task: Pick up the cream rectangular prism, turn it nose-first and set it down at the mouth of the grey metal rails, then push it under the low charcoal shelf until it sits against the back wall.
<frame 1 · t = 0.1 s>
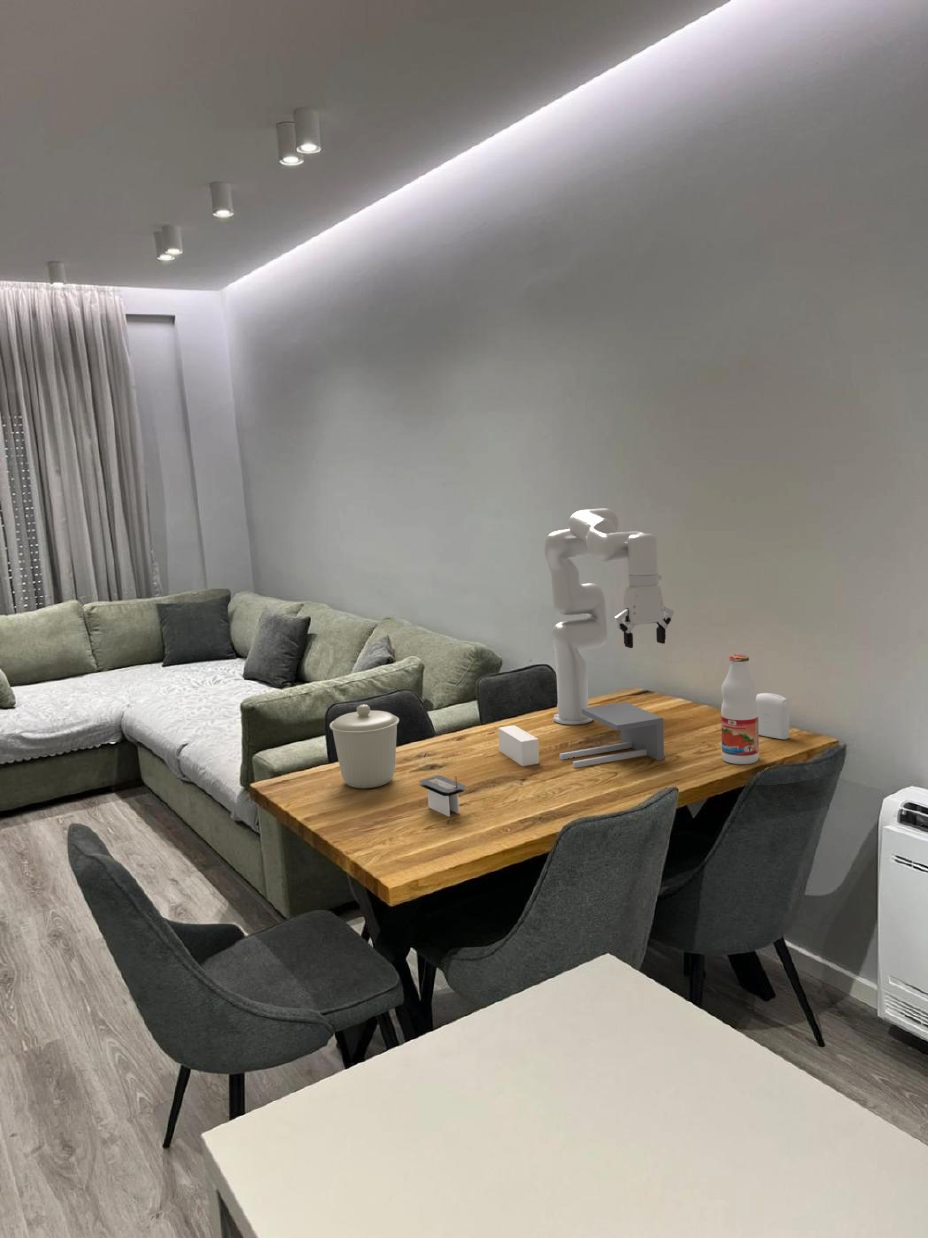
hand: (645, 645, 250), 31 cm above the table, tool pointing down, fingers open, 9 cm apart
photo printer: (771, 736, 268), on the table
overhang shelf: (625, 753, 261), on the table
fruit juice: (740, 760, 250), on the table
architectural model: (444, 812, 226), on the table
cream rectangular prism: (518, 757, 263), on the table
canister: (369, 783, 249), on the table
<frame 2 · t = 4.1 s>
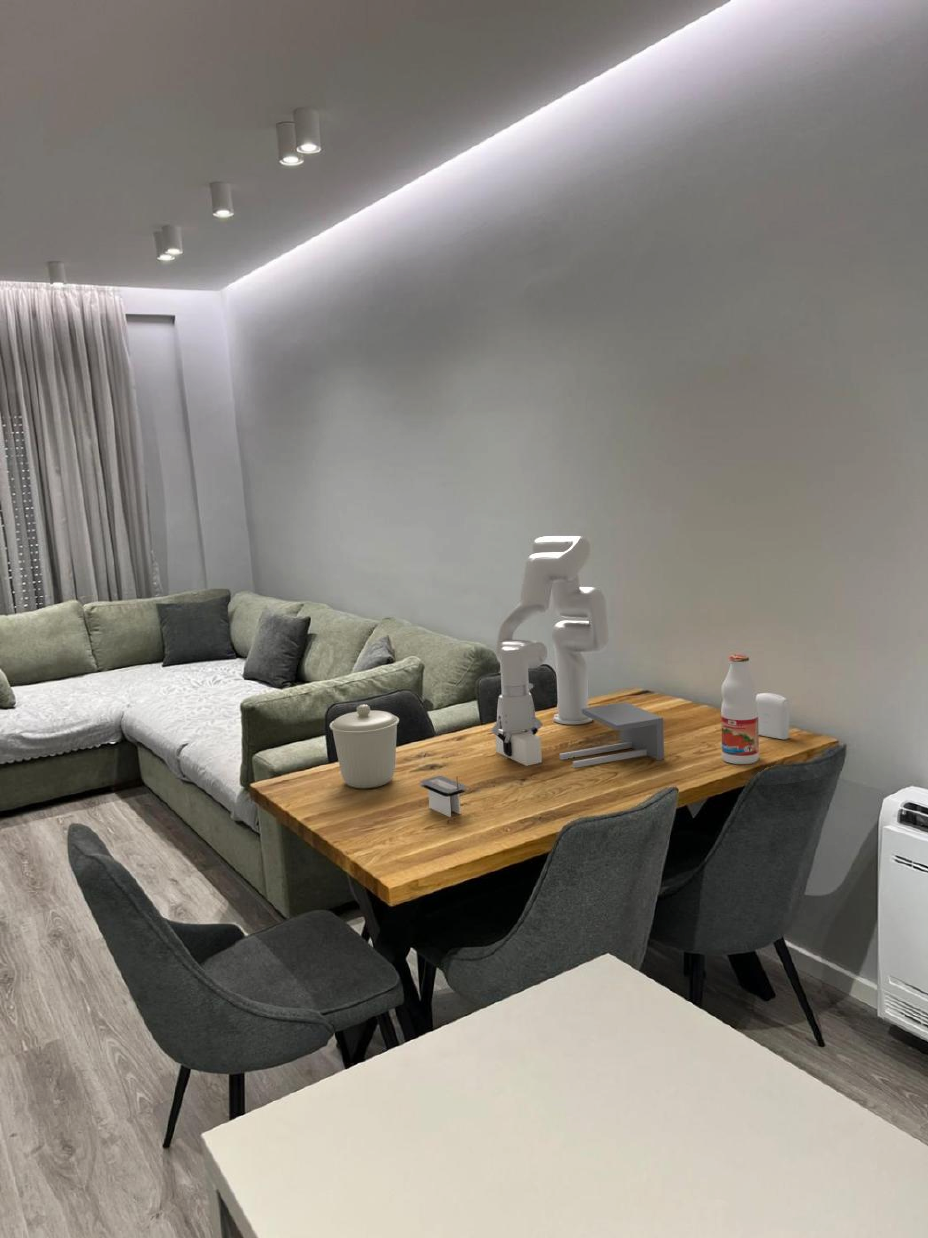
hand: (518, 753, 263), 1 cm above the table, tool pointing down, fingers closed on cream rectangular prism, 5 cm apart
cream rectangular prism: (518, 757, 263), on the table, touching gripper
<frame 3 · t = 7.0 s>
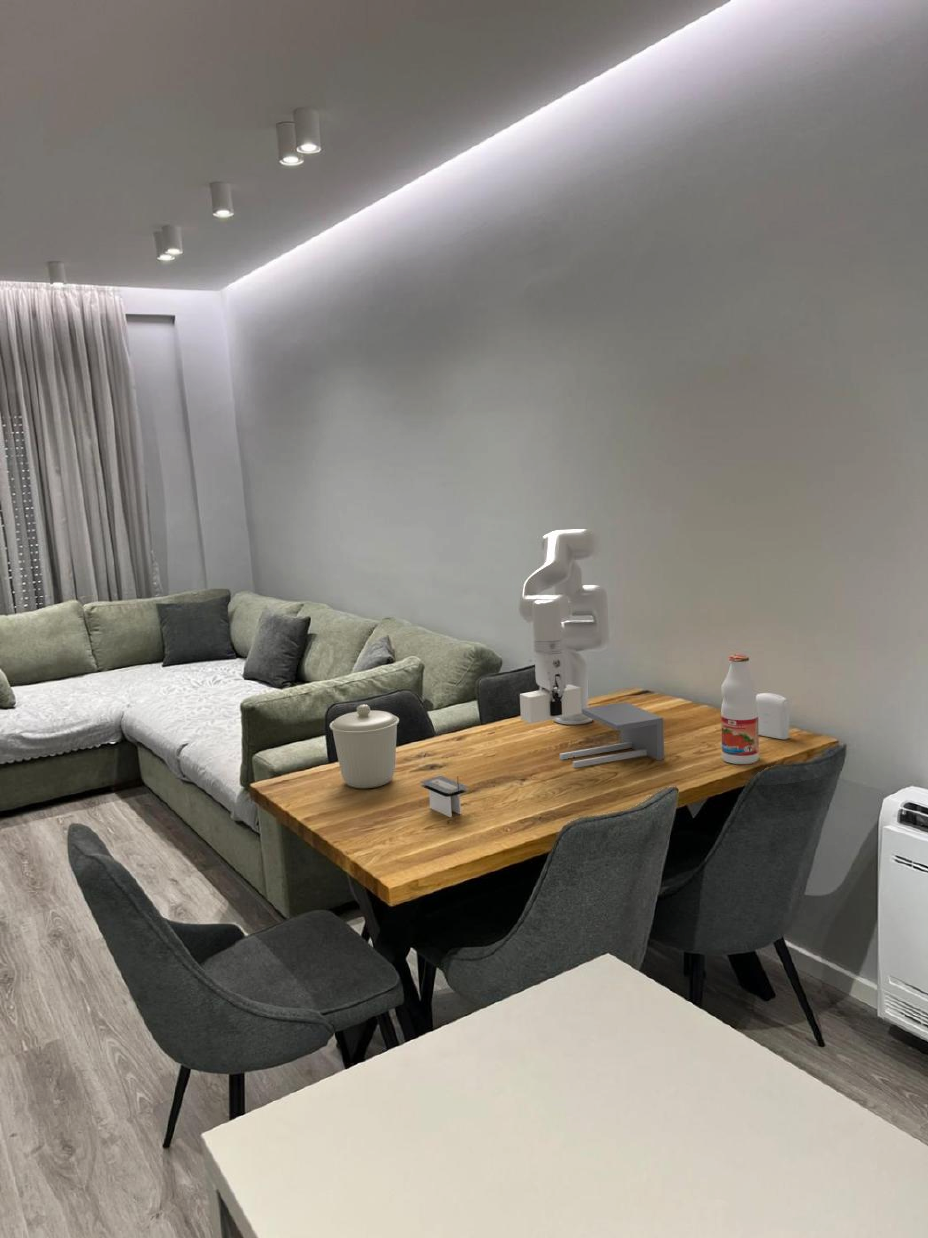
hand: (551, 712, 251), 15 cm above the table, tool pointing down, fingers closed on cream rectangular prism, 5 cm apart
cream rectangular prism: (551, 716, 251), point 14 cm above the table, touching gripper
everything else where it was.
when the fingers open (2 cm above the table, at t = 9.7 s): cream rectangular prism stays where it is, on the table.
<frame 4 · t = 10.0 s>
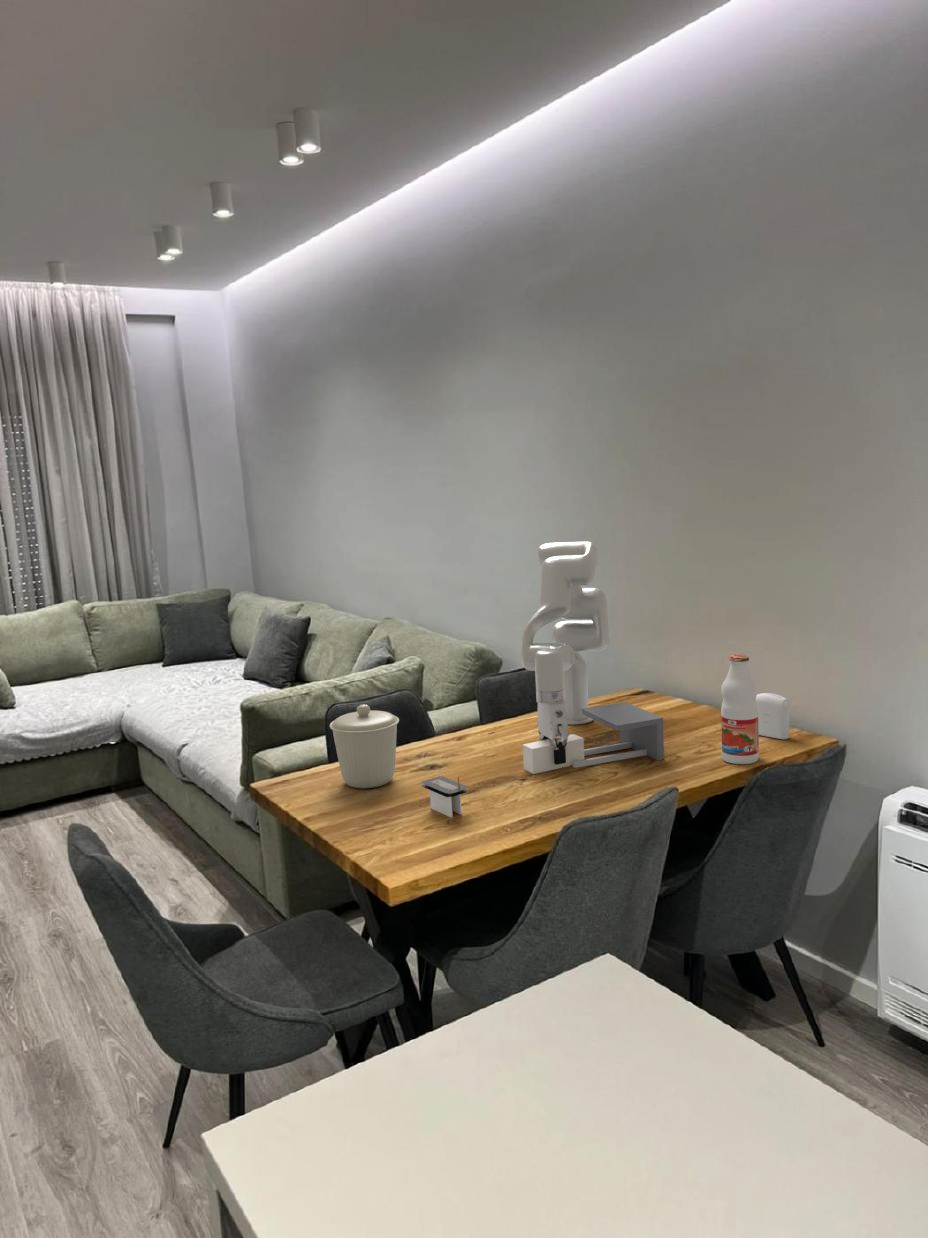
hand: (553, 758, 253), 2 cm above the table, tool pointing down, fingers open, 7 cm apart
cream rectangular prism: (554, 766, 253), on the table
everything else where it was.
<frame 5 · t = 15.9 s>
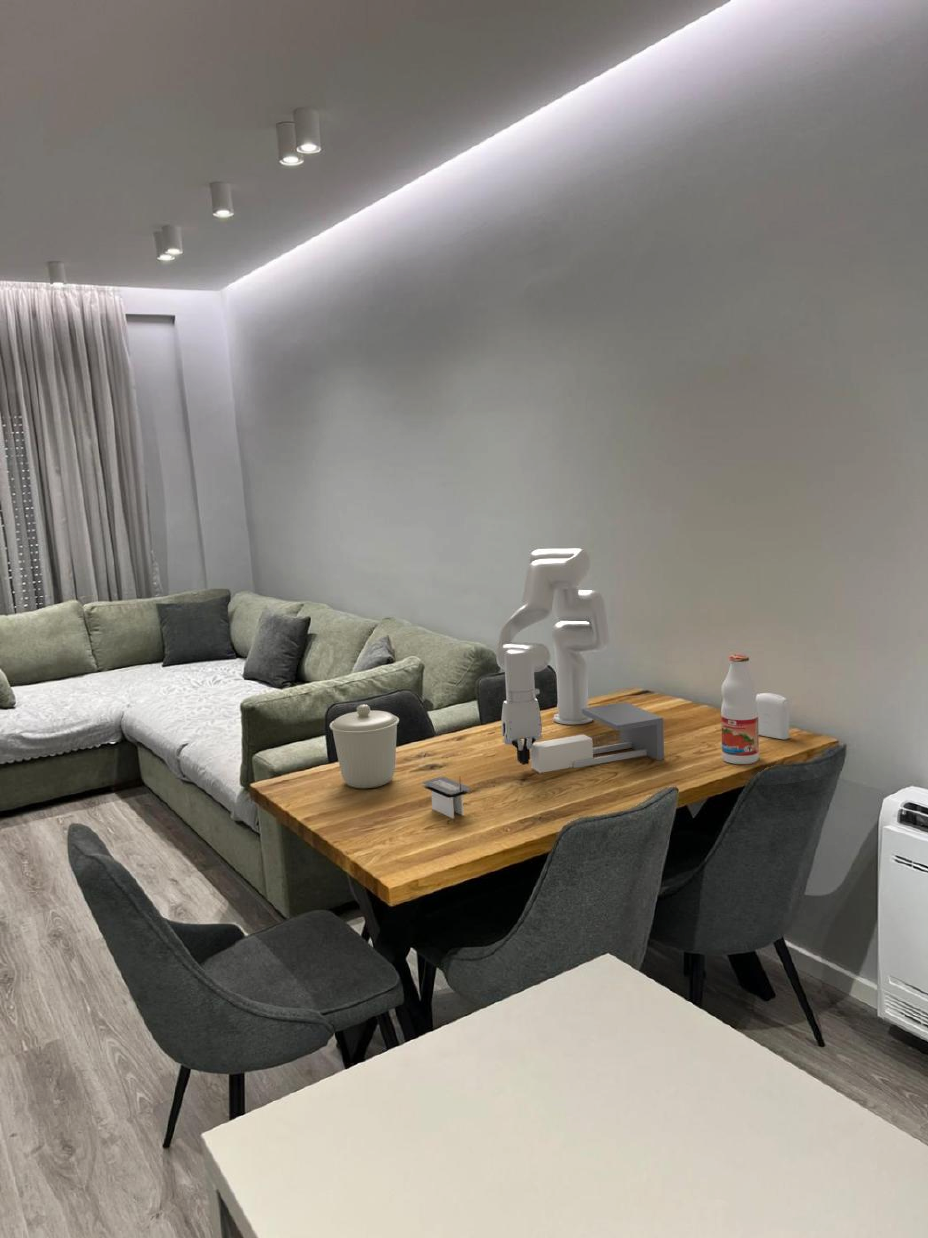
hand: (523, 763, 250), 2 cm above the table, tool pointing down, fingers closed
cream rectangular prism: (562, 766, 253), on the table
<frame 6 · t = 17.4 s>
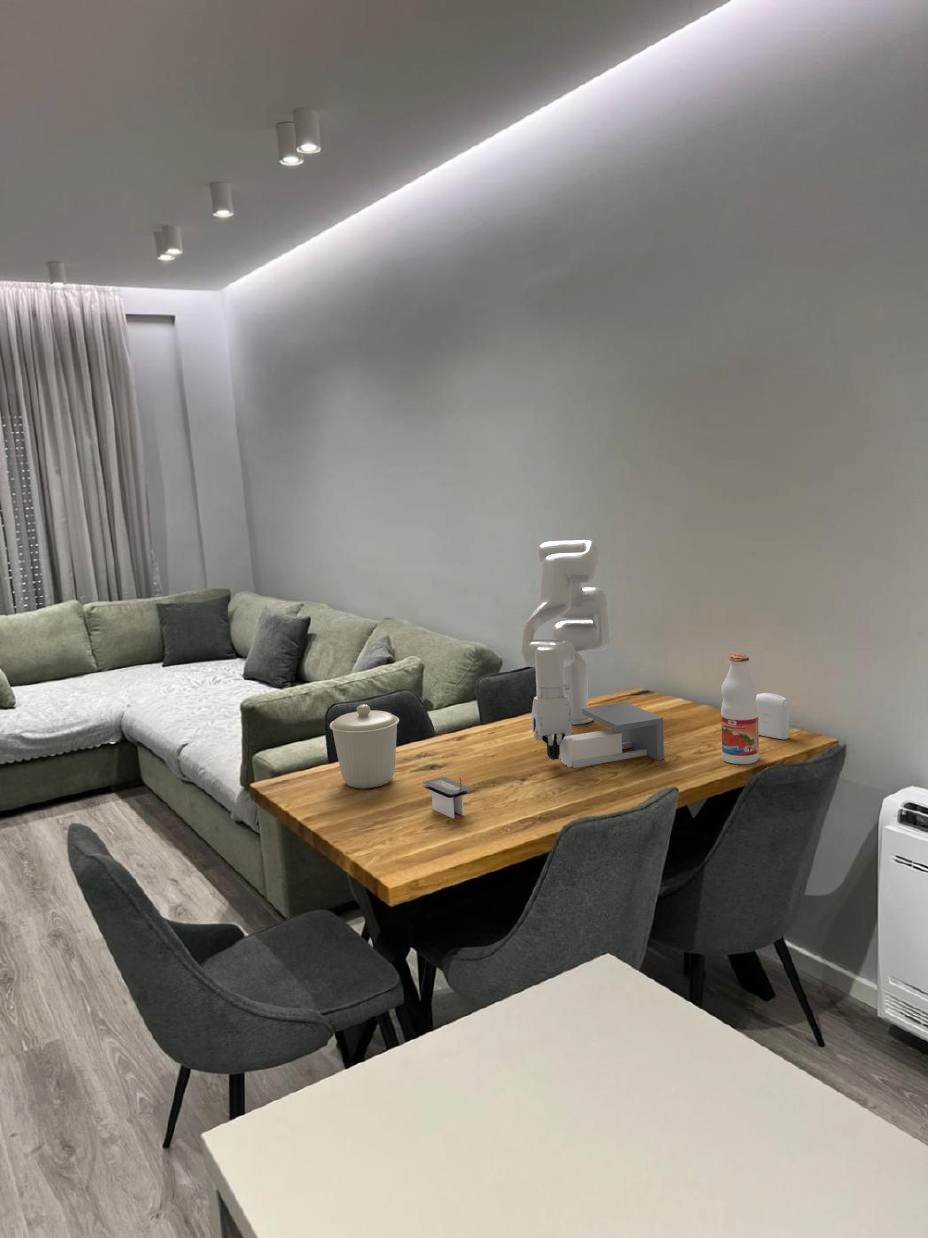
hand: (553, 758, 253), 2 cm above the table, tool pointing down, fingers closed
cream rectangular prism: (591, 760, 256), resting in overhang shelf, touching gripper
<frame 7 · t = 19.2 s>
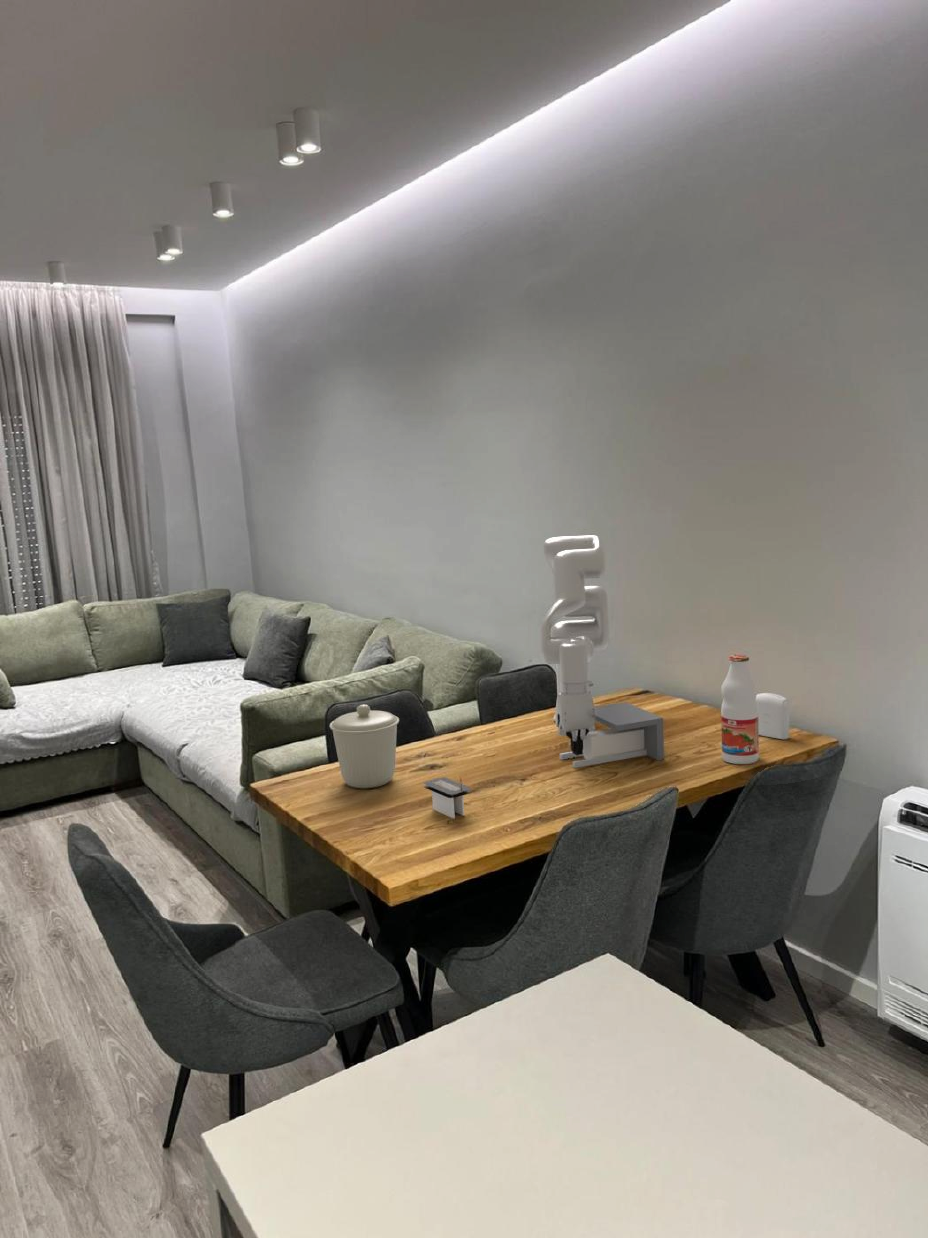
hand: (577, 753, 255), 2 cm above the table, tool pointing down, fingers closed
cream rectangular prism: (614, 755, 259), resting in overhang shelf, touching gripper
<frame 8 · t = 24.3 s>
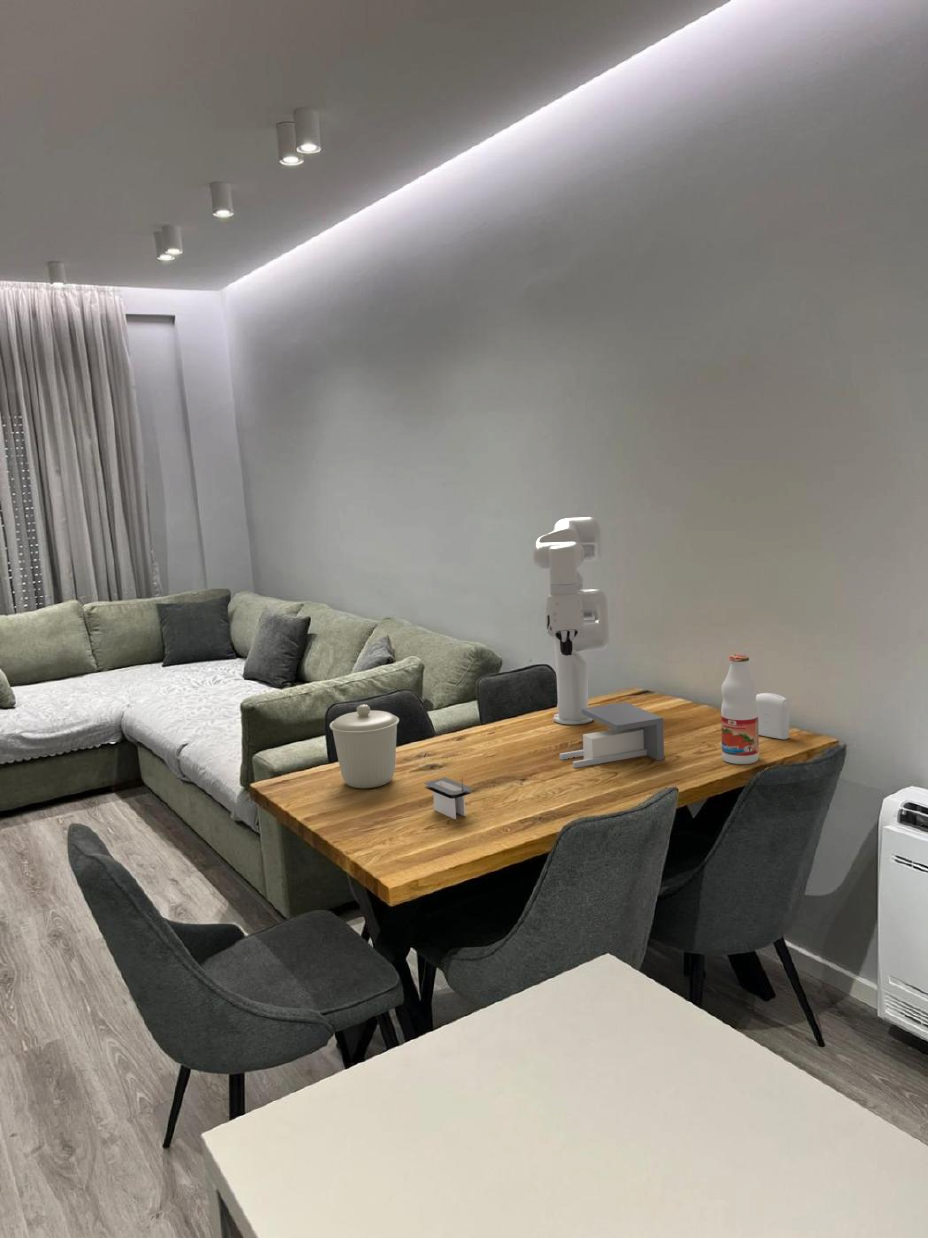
hand: (566, 654, 264), 27 cm above the table, tool pointing down, fingers closed
cream rectangular prism: (614, 756, 259), resting in overhang shelf
at the end: cream rectangular prism 1.1 cm from the target spot, resting in overhang shelf; cream rectangular prism tilted 0°; the gripper is holding nothing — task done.
